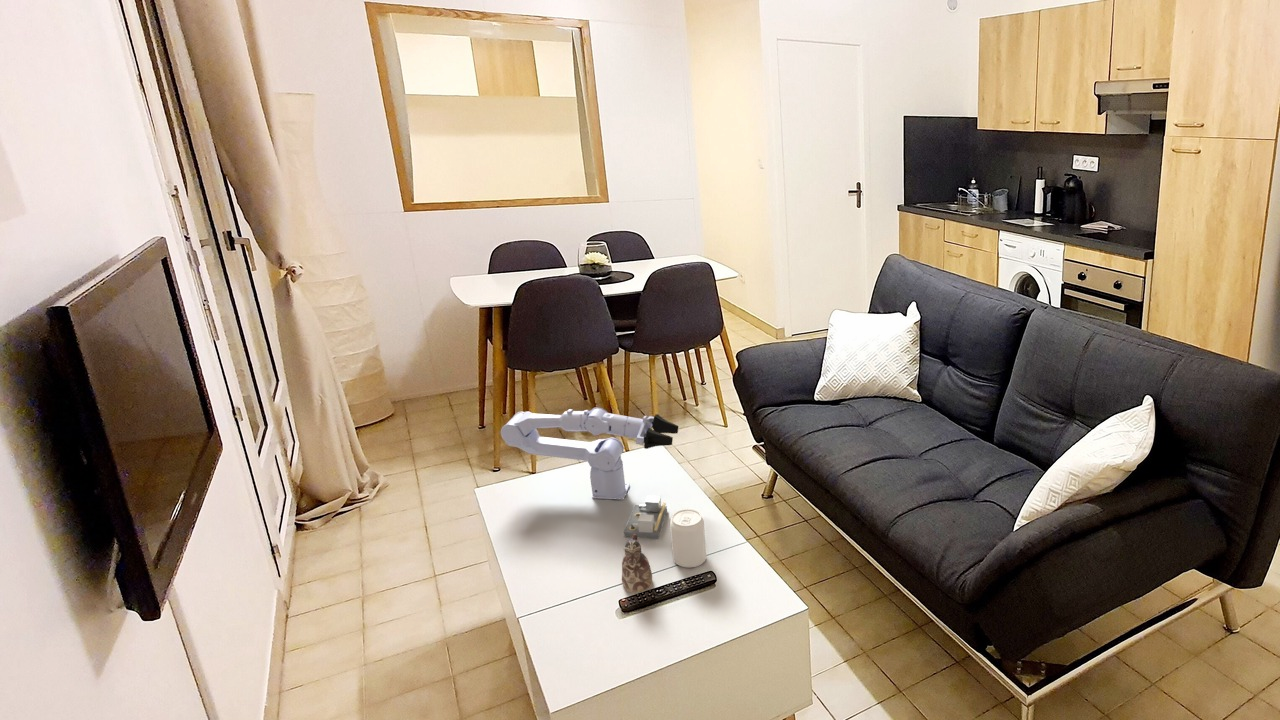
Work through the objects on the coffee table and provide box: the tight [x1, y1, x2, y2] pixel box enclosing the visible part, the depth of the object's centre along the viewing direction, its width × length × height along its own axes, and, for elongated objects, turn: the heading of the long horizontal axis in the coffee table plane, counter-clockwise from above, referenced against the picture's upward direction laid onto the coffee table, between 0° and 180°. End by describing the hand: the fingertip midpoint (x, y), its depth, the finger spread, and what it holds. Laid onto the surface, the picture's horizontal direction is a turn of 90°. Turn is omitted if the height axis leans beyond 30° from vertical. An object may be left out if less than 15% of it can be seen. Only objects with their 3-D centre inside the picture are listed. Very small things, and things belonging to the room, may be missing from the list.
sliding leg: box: [638, 495, 662, 512], centre depth 189 cm, size 6×3×3 cm, turn 77°
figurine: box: [621, 534, 653, 594], centre depth 162 cm, size 7×7×12 cm
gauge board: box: [623, 502, 668, 540], centre depth 185 cm, size 9×13×5 cm
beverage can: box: [669, 508, 707, 568], centre depth 168 cm, size 8×8×12 cm
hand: (675, 435), depth 191 cm, fingers open, 7 cm apart
